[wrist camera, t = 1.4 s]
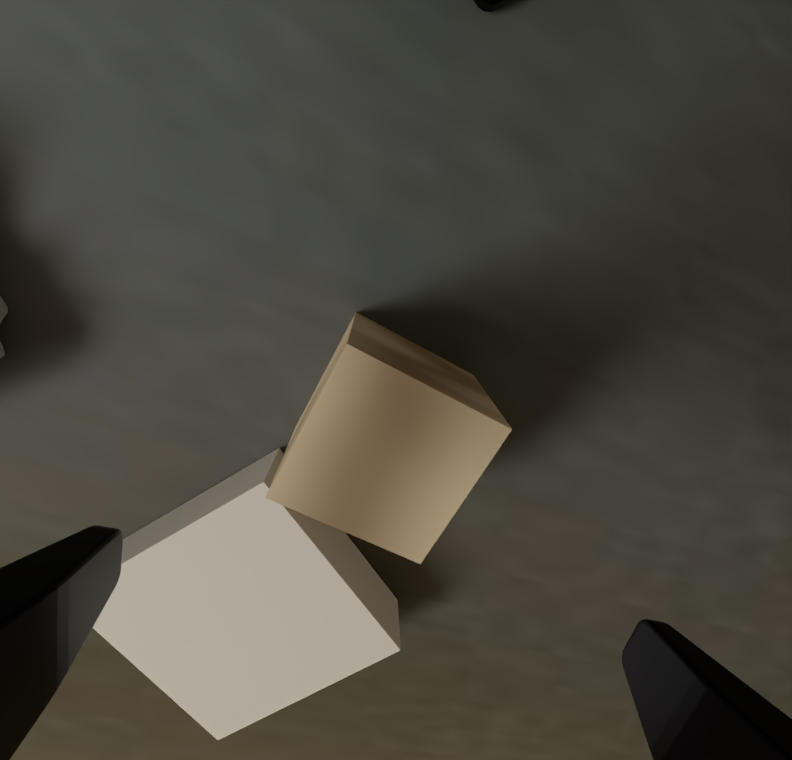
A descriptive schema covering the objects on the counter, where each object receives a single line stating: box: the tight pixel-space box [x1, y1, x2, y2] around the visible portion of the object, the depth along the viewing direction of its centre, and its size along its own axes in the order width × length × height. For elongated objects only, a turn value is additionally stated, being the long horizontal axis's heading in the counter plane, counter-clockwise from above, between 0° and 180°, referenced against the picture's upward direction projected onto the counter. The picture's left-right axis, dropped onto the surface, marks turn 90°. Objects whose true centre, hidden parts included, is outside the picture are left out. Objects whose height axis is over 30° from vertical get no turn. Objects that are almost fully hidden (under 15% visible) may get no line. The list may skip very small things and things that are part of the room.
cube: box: [266, 312, 512, 564], centre depth 14 cm, size 5×5×5 cm
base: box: [93, 448, 401, 740], centre depth 18 cm, size 9×9×2 cm
